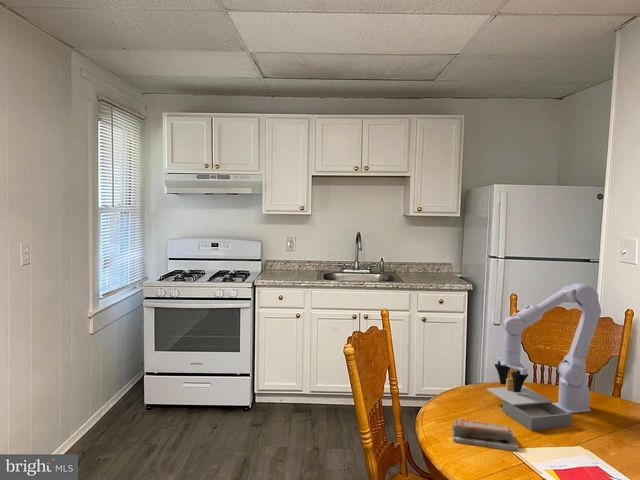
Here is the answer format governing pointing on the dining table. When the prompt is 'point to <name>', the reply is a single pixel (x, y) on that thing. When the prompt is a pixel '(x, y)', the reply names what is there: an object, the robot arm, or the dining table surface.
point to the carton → (538, 415)
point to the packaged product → (483, 434)
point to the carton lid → (518, 394)
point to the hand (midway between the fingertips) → (510, 387)
